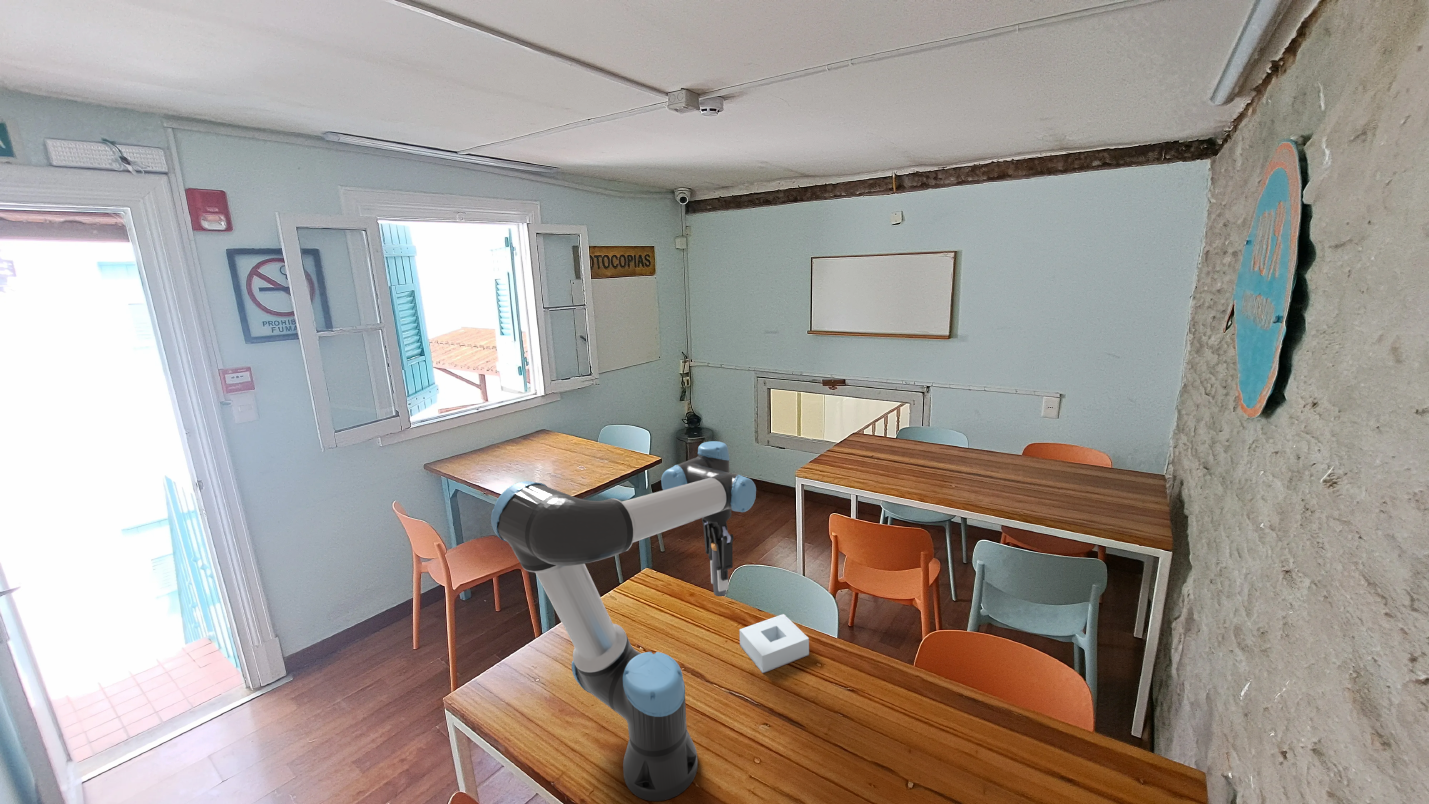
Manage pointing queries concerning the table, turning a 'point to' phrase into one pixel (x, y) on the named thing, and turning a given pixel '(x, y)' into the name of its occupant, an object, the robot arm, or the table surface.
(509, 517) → the robot arm
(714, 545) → the marker
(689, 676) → the table surface
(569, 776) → the table surface
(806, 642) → the socket block
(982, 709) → the table surface
